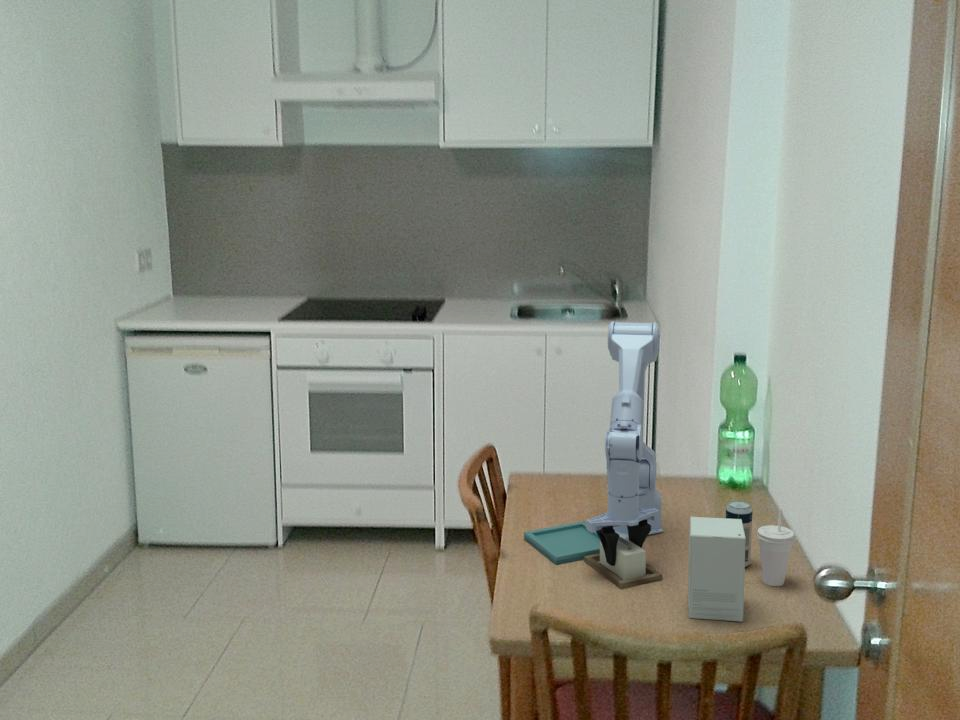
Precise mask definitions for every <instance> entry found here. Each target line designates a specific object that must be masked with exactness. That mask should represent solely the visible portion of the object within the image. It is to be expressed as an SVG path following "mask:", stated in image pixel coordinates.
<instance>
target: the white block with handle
mask: <svg viewBox="0 0 960 720" xmlns="http://www.w3.org/2000/svg"><path fill="white" fill-rule="evenodd" d="M619 535H620V534H619ZM646 555H647V551H646V550H645V549H644V548H643V547H642V548H640V547H639V546H637V545H636V544H634V543H633V542H631V541H630V540H629V539H627V538H625V537H623V536H622V535H620V536H619V539H618V542H617V548H616V563H615V566H611V565H610V564H608V563H607V562H606V557H605V552H604V549H603V546H602V543H601V541H600V560H599V563H600V564H601V565H602V566H604V567H605V568H607V569H608V570H609V571H611V572H612V573H613V574H615V575H616V576H617V577H619V578H620V579H622V580H627V579H632V578H637V577H641V576H646V572H645V571H646V564H647V561H646V559H647V556H646Z"/></svg>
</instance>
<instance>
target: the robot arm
mask: <svg viewBox="0 0 960 720" xmlns="http://www.w3.org/2000/svg"><path fill="white" fill-rule="evenodd" d="M659 345H660V325H659V324H658V322H656V321H653V322H626V321H625V322H623V321H621V322H620V321H613V320H612V321H611V322H610V323H609V324H608V329H607V349H608V352H609V355H610V357H611V359H612V361H615V362H618V377H619V378H618V386H619V387H618V388H619V392H618V393H617V394H615V395H614V396H613V397H612V400H611V408H610V409H611V412H610V422H609V431H606V433H605V434H606V435H605V440H604V441H605V442H604V450H605V451H604V452H605V458H606V485H607V512H604V513H603V514H599V515H597V516H595V517H592V518H591V517H590V518H587V519H586V521H585V522H586V529H587V530H588V531H589V532H591V533H594V532H596V533H597V535H598V537H599V539H600V541H601V543H602V546H603V549H604V552H605V557H606V562H607V563H608V564H610V565H611V566H615V563H616V548H617V542H618V539H619V536H620V535H622V536H623V537H625V538H627V539H628V540H630V541H631V542H633V543H634V544H636V545H637V546H639V547H640V548H642V549H643V545H644V543H645V541H646V539H647V537H648V536H649V535H653V534H659V533H664V529H663V528H662V508H663V507H662V506H663V505H662V503H663V502H662V497H661V494H660V492H659V490H658V489H657V488H656V485H657V455H656V453H655V451H654V450H653V449H652V448H651V447H649V446H648V445H647V444H646V443H645V442H644V424H645V423H644V422H645V421H644V417H645V416H644V415H645V414H644V413H645V387H646V386H645V385H646V371H647V368H648V366H649V364H652V363H654V362H657V360H658V359H657V358H658V357H659V347H660V346H659ZM619 534H620V535H619Z"/></svg>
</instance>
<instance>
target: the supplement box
mask: <svg viewBox="0 0 960 720" xmlns="http://www.w3.org/2000/svg"><path fill="white" fill-rule="evenodd" d="M688 533H689V535H688V537H689V538H688V579H687V580H688V584H687V585H688V589H687V599H688V604H687V605H688V618H689V619H699V620H700V619H701V620H712V621H714V620H715V621H716V620H717V621H728V622H740V623H741V622H744V605H745V604H744V603H745V601H744V600H745V569H746V567H745V543H746V538H745V533H744V529H743V524H742V519H727V518H726V517H725V518H723V517H721V518H720V517H707V516H706V517H704V516H703V517H702V516H690V517H689V532H688Z"/></svg>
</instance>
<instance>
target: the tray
mask: <svg viewBox="0 0 960 720" xmlns="http://www.w3.org/2000/svg"><path fill="white" fill-rule="evenodd" d="M523 540H525V541H526V542H527V543H528V544H529V545H531V546H532V547H533V548H535V549H536V550H537V551H539V552H540V553H541V554H542V555H543V556H545V558H547V559H548V560H549V561H551V562H552V563H553V564H555V565H556V566H557V565H562V564H567V563H572V562H576V561H581V560H584V556H588V555H593V554H598V553H600V539H599V537H598V535H597V533H596V532H594V533H591V532H589V531H588V530H587V529H586V521H585V520H584V521H578V522H577V521H576V522H572V523H566V524H561V525H556V526H551V527H550V526H549V527H544V528H538V529H534V530H529V531H524V532H523Z"/></svg>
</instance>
